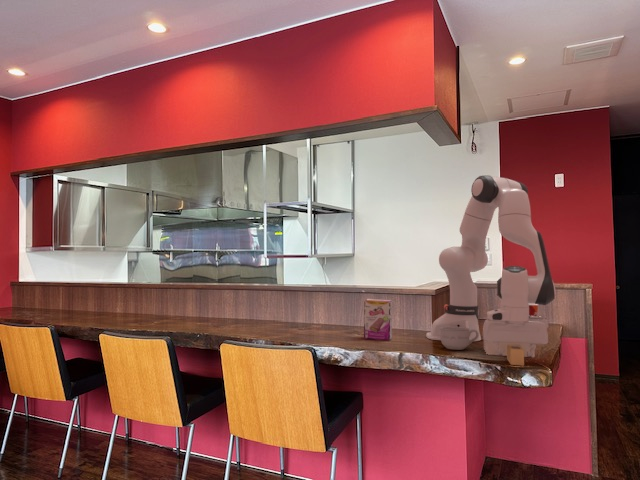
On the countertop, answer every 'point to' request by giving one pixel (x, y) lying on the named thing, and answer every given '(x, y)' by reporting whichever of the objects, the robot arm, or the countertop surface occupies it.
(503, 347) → the ticket block
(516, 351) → the stub
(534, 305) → the paper cup
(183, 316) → the countertop surface
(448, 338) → the teacup
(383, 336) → the candy bar box
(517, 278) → the robot arm
